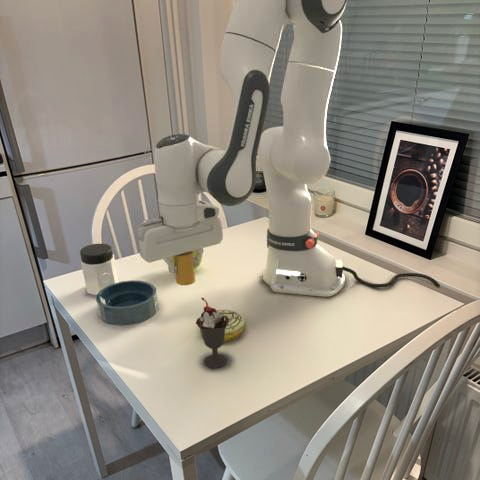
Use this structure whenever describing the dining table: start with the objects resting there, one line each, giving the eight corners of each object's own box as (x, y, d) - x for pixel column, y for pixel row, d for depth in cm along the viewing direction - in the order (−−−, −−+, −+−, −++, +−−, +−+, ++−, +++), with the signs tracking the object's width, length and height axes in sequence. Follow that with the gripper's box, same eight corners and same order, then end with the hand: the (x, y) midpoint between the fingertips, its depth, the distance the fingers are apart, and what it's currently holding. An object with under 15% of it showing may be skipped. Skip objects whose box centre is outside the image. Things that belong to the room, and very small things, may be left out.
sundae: (199, 353, 107) (193, 292, 99) (230, 351, 107) (226, 290, 99) (199, 371, 101) (193, 309, 93) (232, 369, 102) (228, 306, 94)
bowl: (169, 304, 126) (167, 286, 124) (135, 332, 115) (132, 313, 112) (124, 293, 132) (121, 276, 129) (87, 319, 121) (83, 301, 118)
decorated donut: (248, 321, 118) (248, 307, 116) (240, 346, 109) (239, 332, 107) (206, 318, 120) (205, 304, 118) (194, 342, 111) (193, 328, 109)
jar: (92, 300, 129) (83, 258, 123) (83, 288, 135) (74, 248, 129) (124, 290, 133) (117, 250, 127) (113, 280, 139) (106, 240, 133)
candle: (198, 278, 119) (196, 247, 115) (188, 286, 115) (186, 254, 111) (182, 275, 121) (179, 244, 116) (172, 283, 117) (168, 251, 113)
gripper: (142, 226, 102) (150, 285, 109) (225, 207, 112) (227, 262, 119) (130, 218, 107) (138, 275, 114) (210, 200, 116) (213, 254, 123)
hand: (184, 269), depth 116 cm, fingers closed on candle, 4 cm apart
